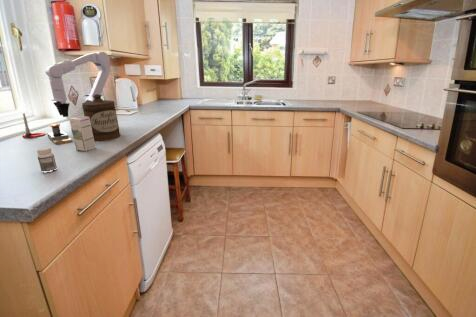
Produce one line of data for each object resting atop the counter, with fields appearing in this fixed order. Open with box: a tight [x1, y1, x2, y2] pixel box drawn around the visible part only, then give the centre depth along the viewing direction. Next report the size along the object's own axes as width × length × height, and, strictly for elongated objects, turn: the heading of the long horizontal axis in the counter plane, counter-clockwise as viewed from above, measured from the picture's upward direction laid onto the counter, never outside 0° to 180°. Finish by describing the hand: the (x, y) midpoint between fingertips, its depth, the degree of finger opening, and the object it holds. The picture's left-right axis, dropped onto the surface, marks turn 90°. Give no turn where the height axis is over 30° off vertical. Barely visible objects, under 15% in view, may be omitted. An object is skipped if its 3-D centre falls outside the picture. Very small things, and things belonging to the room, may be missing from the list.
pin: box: [49, 123, 61, 136], centre depth 139 cm, size 4×4×8 cm
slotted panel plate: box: [47, 130, 73, 145], centre depth 140 cm, size 7×19×2 cm, turn 42°
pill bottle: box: [36, 146, 58, 172], centre depth 98 cm, size 5×5×8 cm
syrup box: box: [68, 115, 96, 152], centre depth 121 cm, size 6×6×14 cm
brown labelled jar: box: [81, 94, 121, 142], centre depth 139 cm, size 15×15×22 cm
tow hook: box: [22, 112, 46, 139], centre depth 146 cm, size 8×13×9 cm
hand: (64, 115), depth 148 cm, fingers open, 7 cm apart
